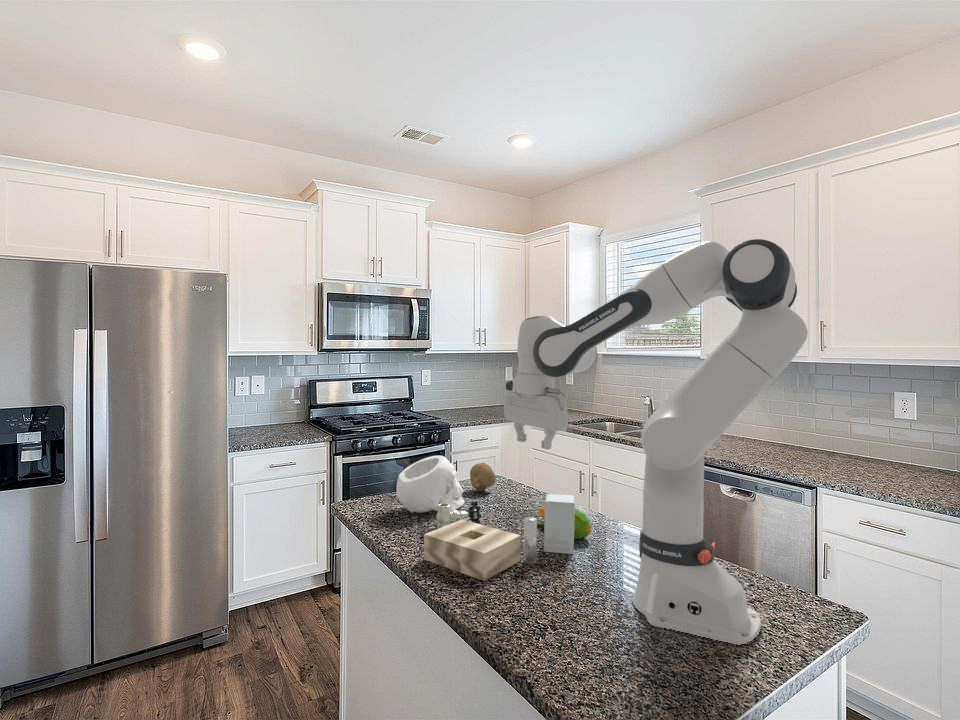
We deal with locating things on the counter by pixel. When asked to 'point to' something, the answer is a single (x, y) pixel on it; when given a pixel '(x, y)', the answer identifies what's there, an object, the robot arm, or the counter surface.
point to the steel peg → (530, 540)
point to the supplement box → (559, 523)
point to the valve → (456, 514)
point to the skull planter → (429, 485)
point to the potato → (482, 476)
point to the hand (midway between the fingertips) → (533, 444)
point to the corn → (575, 523)
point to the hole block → (472, 549)
